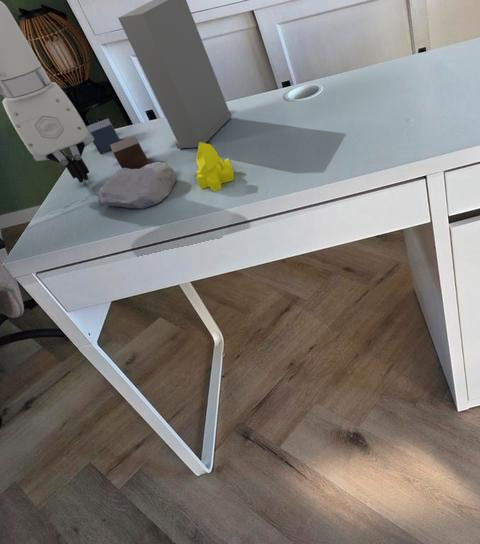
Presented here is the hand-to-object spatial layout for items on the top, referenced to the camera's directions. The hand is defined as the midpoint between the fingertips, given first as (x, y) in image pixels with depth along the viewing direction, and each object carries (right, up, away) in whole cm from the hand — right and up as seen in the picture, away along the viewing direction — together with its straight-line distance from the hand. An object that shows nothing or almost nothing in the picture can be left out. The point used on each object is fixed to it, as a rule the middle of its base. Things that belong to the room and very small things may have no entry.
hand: (83, 178), depth 94 cm
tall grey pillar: (+20, +11, +10) cm, 25 cm away
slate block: (-3, +10, +15) cm, 18 cm away
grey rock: (+14, -5, -7) cm, 16 cm away
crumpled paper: (+28, -2, -7) cm, 29 cm away
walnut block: (+8, +3, +4) cm, 10 cm away
